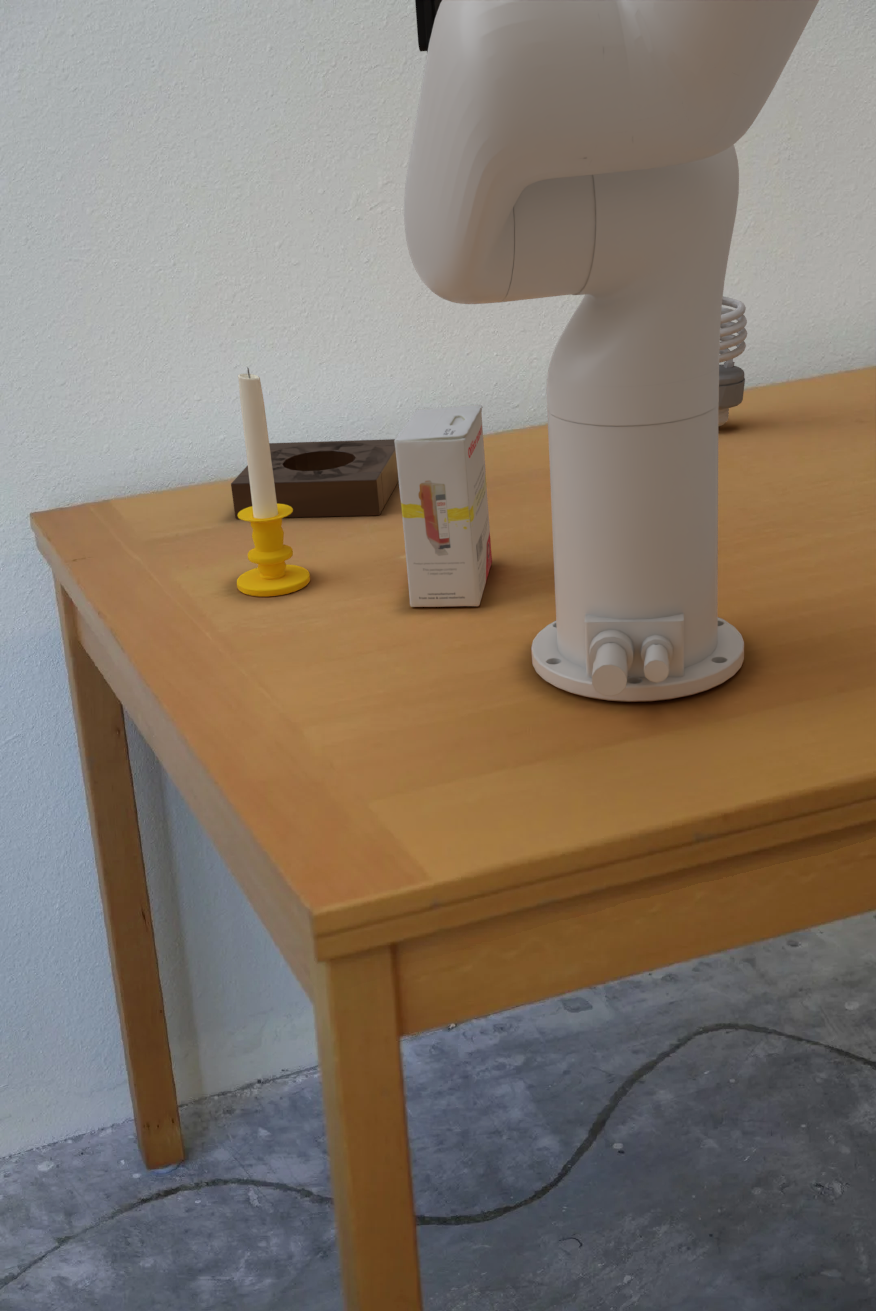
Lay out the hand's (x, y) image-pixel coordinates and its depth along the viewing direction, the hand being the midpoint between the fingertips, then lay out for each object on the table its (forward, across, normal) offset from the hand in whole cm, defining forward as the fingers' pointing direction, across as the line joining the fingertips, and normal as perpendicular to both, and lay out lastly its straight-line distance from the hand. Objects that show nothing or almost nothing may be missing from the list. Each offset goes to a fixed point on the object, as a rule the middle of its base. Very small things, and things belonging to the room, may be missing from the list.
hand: (510, 57), depth 96 cm
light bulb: (+34, +12, +32) cm, 48 cm away
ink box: (+34, -5, -8) cm, 35 cm away
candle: (+34, -18, -8) cm, 39 cm away
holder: (+34, -20, +13) cm, 41 cm away
